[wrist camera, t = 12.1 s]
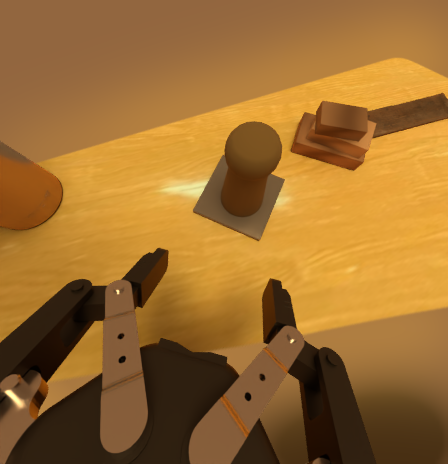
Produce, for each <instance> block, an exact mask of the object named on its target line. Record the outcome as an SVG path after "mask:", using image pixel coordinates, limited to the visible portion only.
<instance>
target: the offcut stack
mask: <svg viewBox="0 0 448 464" xmlns="http://www.w3.org/2000/svg"><path fill="white" fill-rule="evenodd" d="M376 124H377V123H374V122H371V121H369V120H368V119H367V108H362V107H356V106H350V105H344V104H339V103H333V102H327V101H322V103H321V104H320V106H319V108H318V110H317V111H316V115H313V114H310V113H306V112H305V113H304V115H303V117H302V119H301V121H300V123H299V126H298V129H297V133H296V136H295V139H294V143H293V146H292V149H291V152H294V153H297V154H301V155H304V156H307V157H311V158H314V159H317V160H321V161H324V162H327V163H331V164H334V165H337V166H340V167H344V168H347V169H350V170H355V169H356V168H357V167H359V166H360V165H361V164H362V163H363V162H364V158H365V153H366V152H367V151H368V150H369V147H370V143H371V140H372V137H373V134H374V130H375V127H376Z"/></svg>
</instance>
